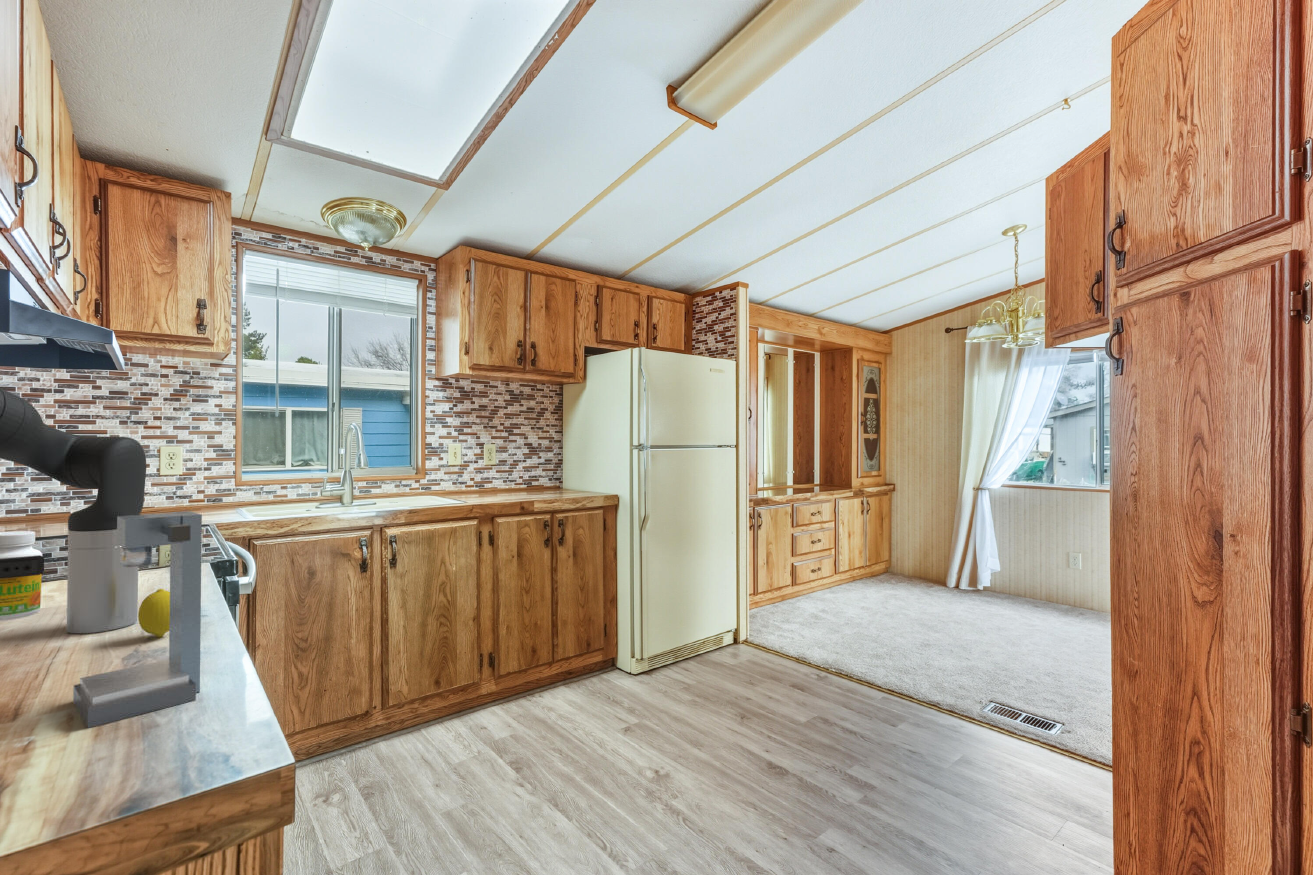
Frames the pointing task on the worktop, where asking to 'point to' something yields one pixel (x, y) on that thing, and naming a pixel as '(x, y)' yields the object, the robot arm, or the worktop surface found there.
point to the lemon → (155, 613)
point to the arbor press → (181, 672)
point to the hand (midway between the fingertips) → (40, 561)
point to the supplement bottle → (19, 578)
